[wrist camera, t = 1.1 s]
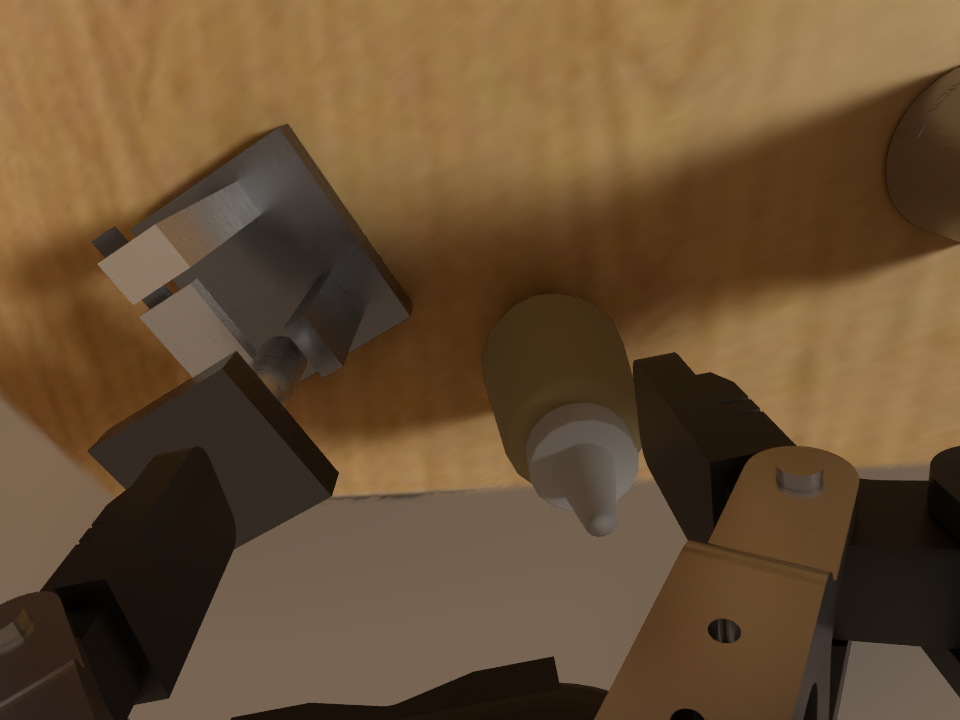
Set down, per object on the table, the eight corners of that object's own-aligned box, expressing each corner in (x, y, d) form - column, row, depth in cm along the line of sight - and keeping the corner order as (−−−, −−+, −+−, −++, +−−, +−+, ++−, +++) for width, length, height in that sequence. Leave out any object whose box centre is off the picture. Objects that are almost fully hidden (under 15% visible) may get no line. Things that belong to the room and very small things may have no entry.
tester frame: (412, 305, 40) (393, 397, 29) (279, 383, 42) (214, 499, 31) (287, 123, 35) (208, 151, 24) (146, 221, 37) (13, 288, 26)
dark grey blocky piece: (368, 376, 33) (331, 496, 24) (273, 431, 34) (203, 565, 25) (261, 234, 30) (171, 309, 21) (160, 300, 31) (34, 399, 22)
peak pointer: (199, 326, 31) (195, 331, 30) (183, 337, 31) (178, 341, 31) (115, 226, 29) (108, 230, 28) (98, 238, 29) (91, 242, 29)
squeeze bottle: (456, 362, 41) (452, 561, 25) (521, 250, 38) (563, 391, 22) (567, 415, 43) (631, 633, 27) (636, 311, 40) (756, 484, 24)
